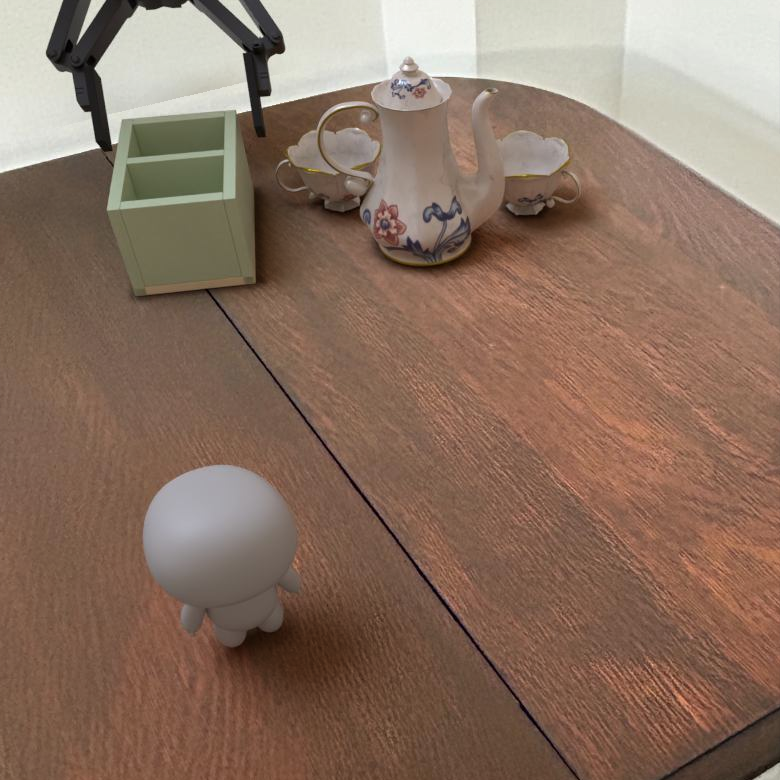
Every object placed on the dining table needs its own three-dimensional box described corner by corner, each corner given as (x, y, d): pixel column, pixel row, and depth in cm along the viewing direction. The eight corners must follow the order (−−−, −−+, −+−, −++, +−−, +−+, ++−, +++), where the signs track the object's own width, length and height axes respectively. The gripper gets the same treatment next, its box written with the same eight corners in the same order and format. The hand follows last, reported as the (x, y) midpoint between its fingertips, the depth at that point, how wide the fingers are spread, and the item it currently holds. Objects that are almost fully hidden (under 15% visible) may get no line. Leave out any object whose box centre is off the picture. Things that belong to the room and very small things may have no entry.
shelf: (147, 201, 97) (121, 119, 91) (254, 191, 98) (235, 109, 93) (135, 296, 86) (106, 210, 81) (255, 283, 88) (235, 197, 82)
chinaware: (573, 192, 101) (576, 9, 90) (588, 270, 89) (594, 69, 78) (289, 199, 100) (257, 15, 89) (263, 279, 88) (223, 77, 77)
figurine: (294, 569, 66) (256, 428, 57) (337, 651, 61) (304, 513, 53) (171, 616, 63) (111, 476, 54) (206, 706, 59) (148, 570, 50)
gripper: (291, -88, 96) (326, 140, 97) (12, -71, 92) (51, 166, 93) (282, -138, 88) (320, 110, 89) (-22, -121, 85) (21, 137, 86)
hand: (183, 139), depth 91 cm, fingers open, 13 cm apart
